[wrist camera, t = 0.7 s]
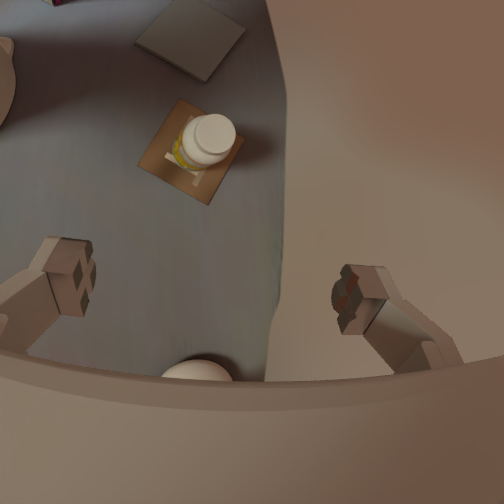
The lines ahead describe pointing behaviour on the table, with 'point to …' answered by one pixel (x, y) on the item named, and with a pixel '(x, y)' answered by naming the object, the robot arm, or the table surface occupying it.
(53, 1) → the candy bar box
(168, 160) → the tile
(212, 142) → the supplement bottle
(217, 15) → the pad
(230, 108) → the table surface
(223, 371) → the flower in vase
